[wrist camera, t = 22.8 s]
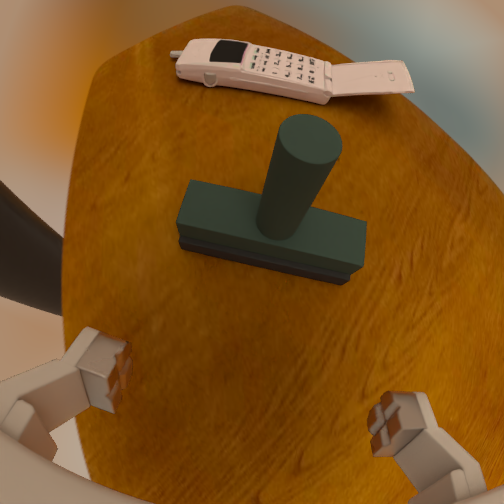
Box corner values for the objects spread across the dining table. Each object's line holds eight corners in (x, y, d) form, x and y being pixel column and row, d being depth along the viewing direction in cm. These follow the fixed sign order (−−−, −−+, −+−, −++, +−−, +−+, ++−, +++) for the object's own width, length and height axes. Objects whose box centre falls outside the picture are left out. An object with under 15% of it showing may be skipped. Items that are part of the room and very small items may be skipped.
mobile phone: (418, 94, 22) (149, 39, 21) (393, 131, 28) (156, 84, 27) (406, 61, 24) (172, 12, 23) (386, 96, 30) (174, 54, 29)
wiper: (180, 249, 22) (145, 144, 10) (195, 200, 23) (181, 79, 12) (341, 285, 22) (441, 220, 11) (347, 236, 23) (432, 147, 12)
